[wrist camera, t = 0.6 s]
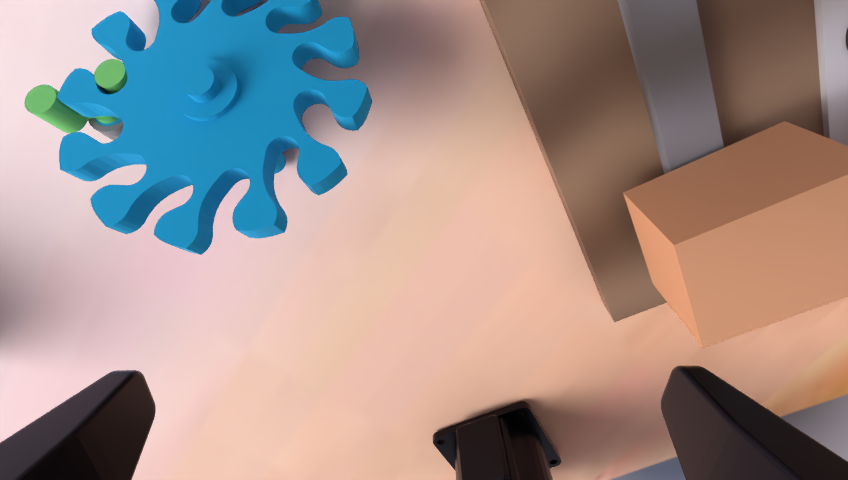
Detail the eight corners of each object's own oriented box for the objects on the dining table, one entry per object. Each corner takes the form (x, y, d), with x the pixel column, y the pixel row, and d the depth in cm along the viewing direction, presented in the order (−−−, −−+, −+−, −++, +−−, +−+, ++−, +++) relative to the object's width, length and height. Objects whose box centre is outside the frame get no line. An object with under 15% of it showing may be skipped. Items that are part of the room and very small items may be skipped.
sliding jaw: (905, 174, 18) (1038, 228, 14) (647, 277, 21) (702, 347, 17) (908, 57, 16) (1067, 84, 12) (618, 187, 18) (673, 245, 14)
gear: (381, -53, 14) (337, 255, 12) (402, 65, 20) (376, 289, 18) (59, -57, 15) (-44, 226, 13) (166, 56, 21) (109, 267, 19)
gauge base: (923, 177, 21) (1117, 255, 15) (603, 303, 24) (663, 406, 18) (959, -596, 11) (1595, -1256, 5) (399, -198, 14) (390, -318, 8)
